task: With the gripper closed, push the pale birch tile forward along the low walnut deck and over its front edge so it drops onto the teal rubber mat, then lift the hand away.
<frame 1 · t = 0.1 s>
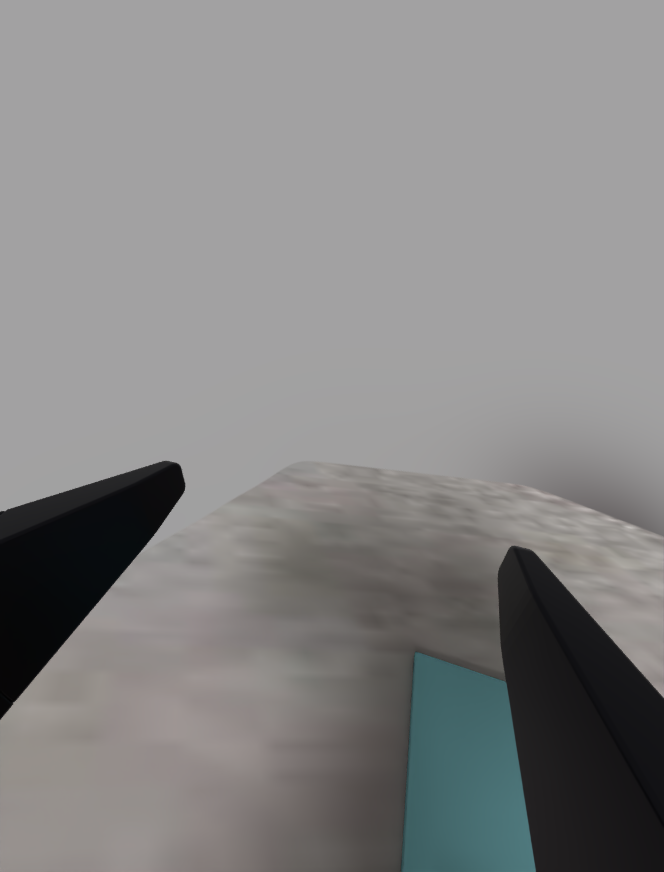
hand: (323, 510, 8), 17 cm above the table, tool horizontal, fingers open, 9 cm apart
teal mat: (563, 839, 14), on the table
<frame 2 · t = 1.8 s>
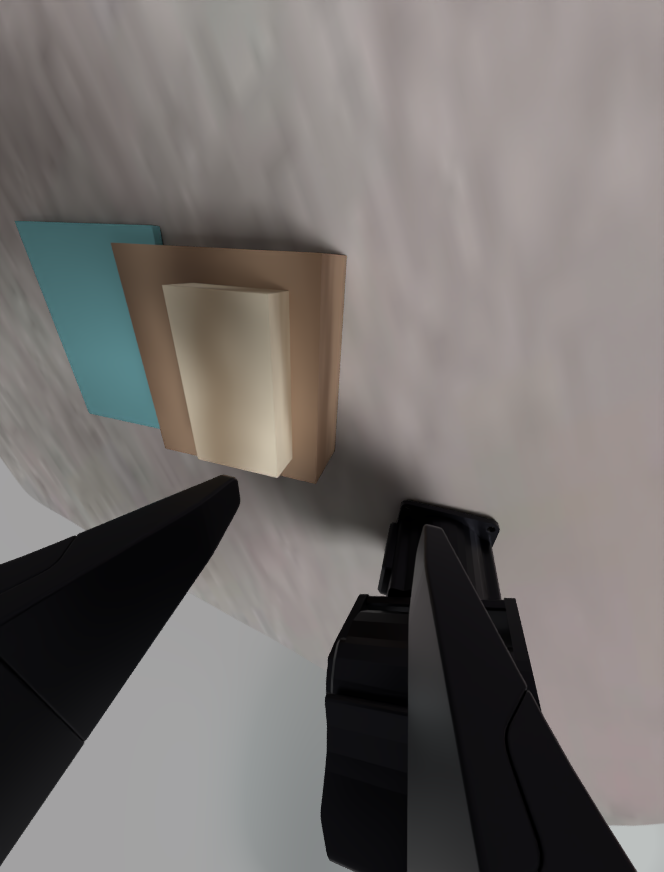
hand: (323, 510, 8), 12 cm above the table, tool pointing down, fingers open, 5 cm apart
teal mat: (120, 337, 23), on the table
walnut deck: (259, 357, 20), on the table
birch tile: (247, 379, 16), point 4 cm above the table, touching walnut deck
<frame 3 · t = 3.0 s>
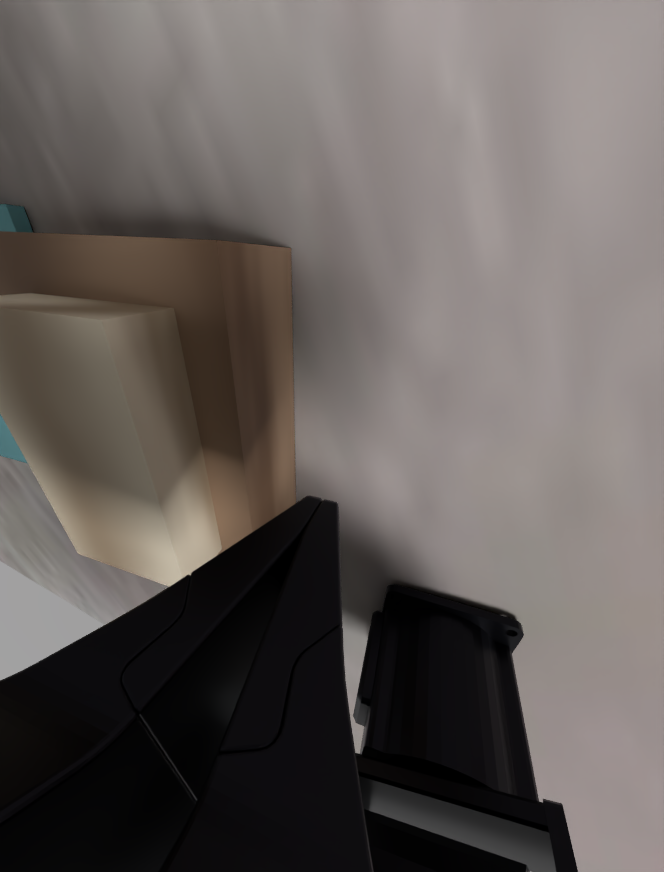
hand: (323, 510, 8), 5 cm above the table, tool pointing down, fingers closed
teal mat: (10, 362, 17), on the table
walnut deck: (185, 393, 14), on the table
birch tile: (141, 441, 11), point 4 cm above the table, touching walnut deck
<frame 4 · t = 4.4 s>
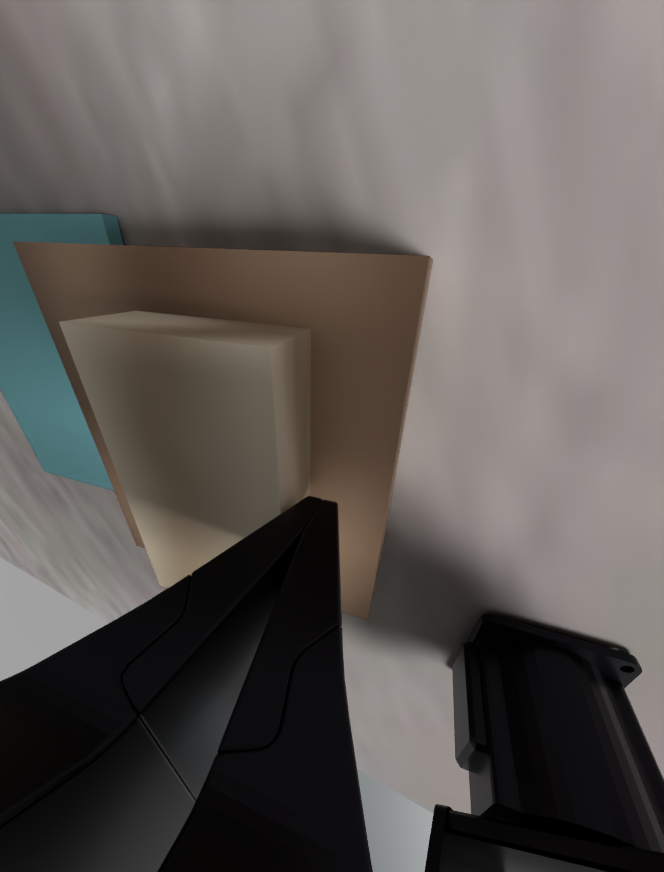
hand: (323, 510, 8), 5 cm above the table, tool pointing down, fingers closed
teal mat: (75, 378, 16), on the table
walnut deck: (275, 413, 13), on the table
birch tile: (237, 466, 10), point 4 cm above the table, touching gripper, walnut deck
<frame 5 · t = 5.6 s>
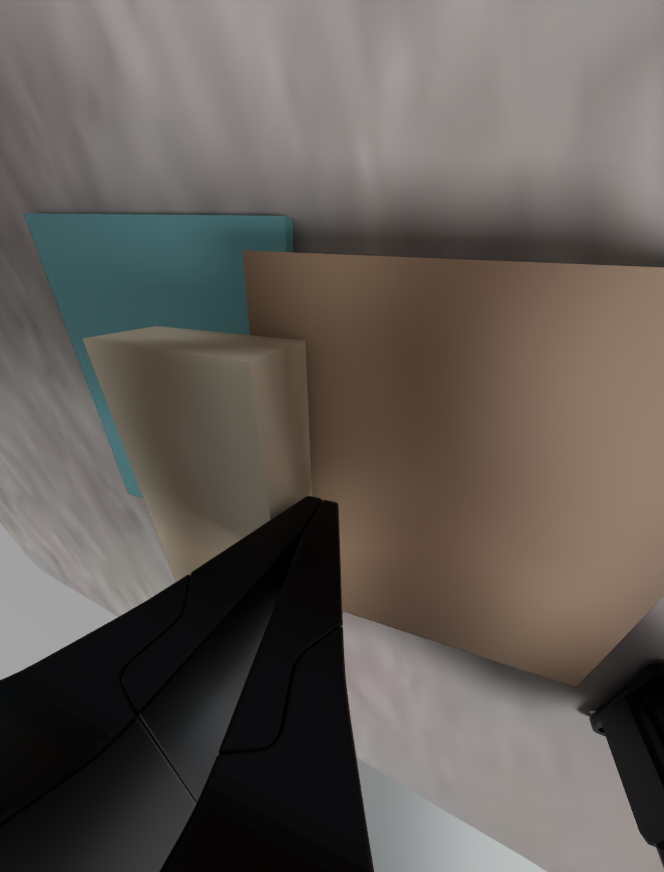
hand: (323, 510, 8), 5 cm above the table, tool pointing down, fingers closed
teal mat: (189, 397, 14), on the table
walnut deck: (441, 442, 12), on the table
birch tile: (245, 473, 10), point 4 cm above the table, tilted 8°, touching walnut deck
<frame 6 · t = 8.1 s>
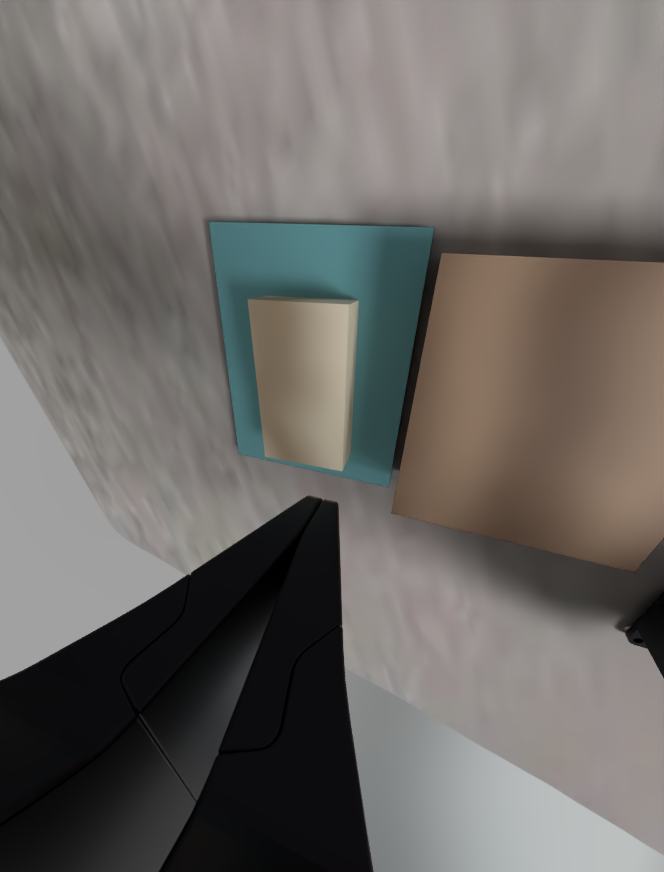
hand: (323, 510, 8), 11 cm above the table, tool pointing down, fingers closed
teal mat: (313, 368, 18), on the table
walnut deck: (527, 398, 15), on the table
birch tile: (299, 393, 16), point 3 cm above the table, tilted 180°, touching teal mat
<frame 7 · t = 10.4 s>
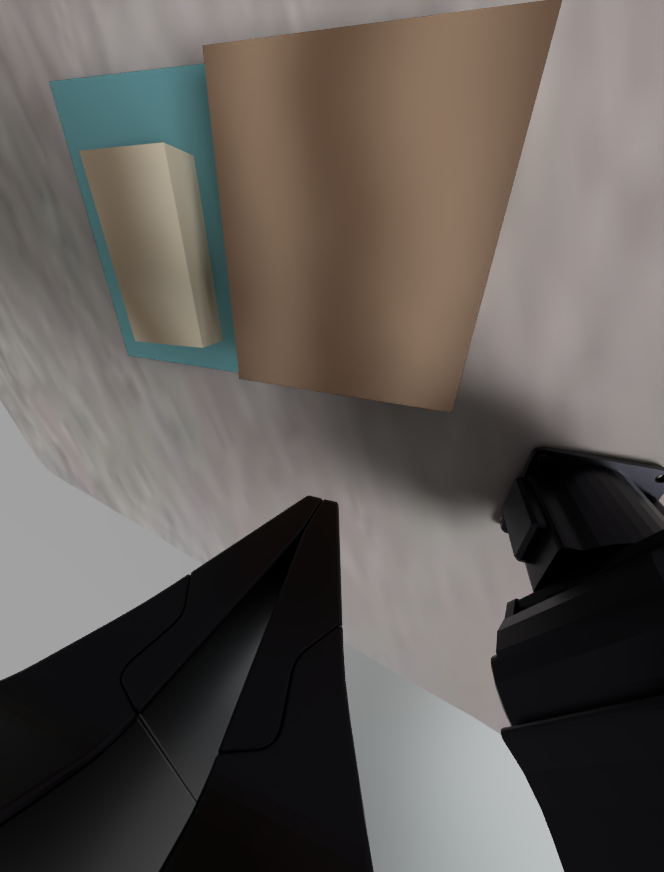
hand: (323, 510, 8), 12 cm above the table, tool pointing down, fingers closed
teal mat: (176, 247, 18), on the table
walnut deck: (364, 257, 16), on the table
birch tile: (146, 258, 16), point 3 cm above the table, tilted 180°, touching teal mat
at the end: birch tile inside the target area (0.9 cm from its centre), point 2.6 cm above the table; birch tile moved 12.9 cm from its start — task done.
